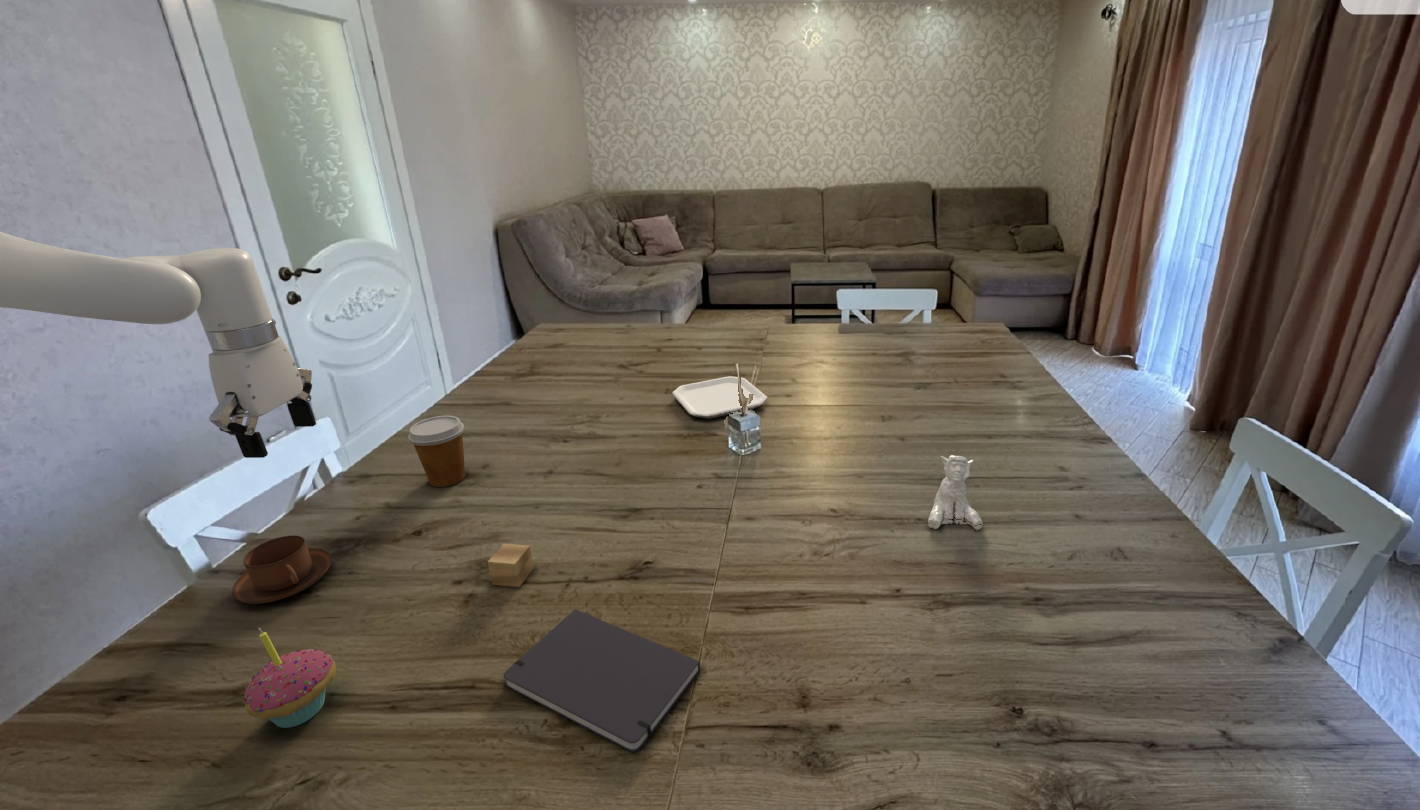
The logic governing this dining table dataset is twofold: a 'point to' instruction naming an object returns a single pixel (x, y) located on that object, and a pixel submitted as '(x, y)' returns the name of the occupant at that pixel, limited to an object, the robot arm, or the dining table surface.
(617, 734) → the notebook
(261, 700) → the cupcake
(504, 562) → the beech block
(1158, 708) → the dining table surface
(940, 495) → the seated beast figurine
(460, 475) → the disposable coffee cup
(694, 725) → the dining table surface
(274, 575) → the cup and saucer
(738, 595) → the dining table surface
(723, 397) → the plate
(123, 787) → the dining table surface
